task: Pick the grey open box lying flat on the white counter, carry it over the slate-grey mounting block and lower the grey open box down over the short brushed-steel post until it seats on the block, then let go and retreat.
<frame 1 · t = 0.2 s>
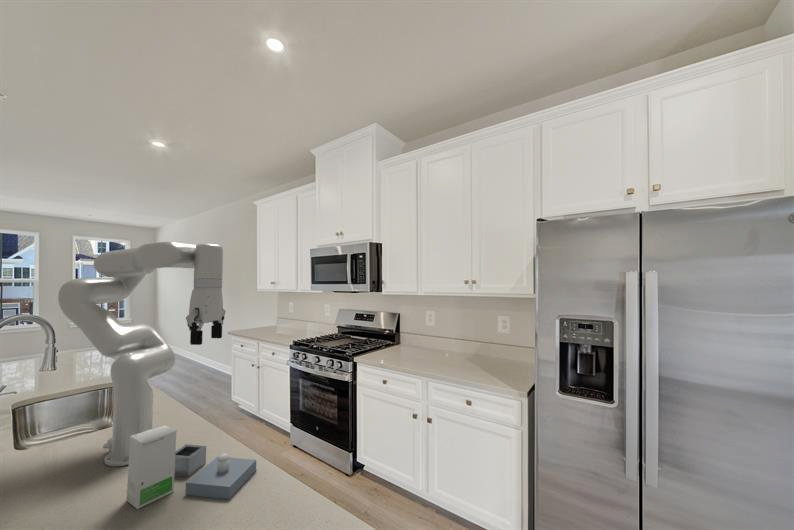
hand: (206, 341, 97), 36 cm above the counter, tool pointing down, fingers open, 9 cm apart
grey open box: (187, 468, 93), on the counter
shaft block: (222, 481, 87), on the counter
skincare box: (150, 496, 81), on the counter
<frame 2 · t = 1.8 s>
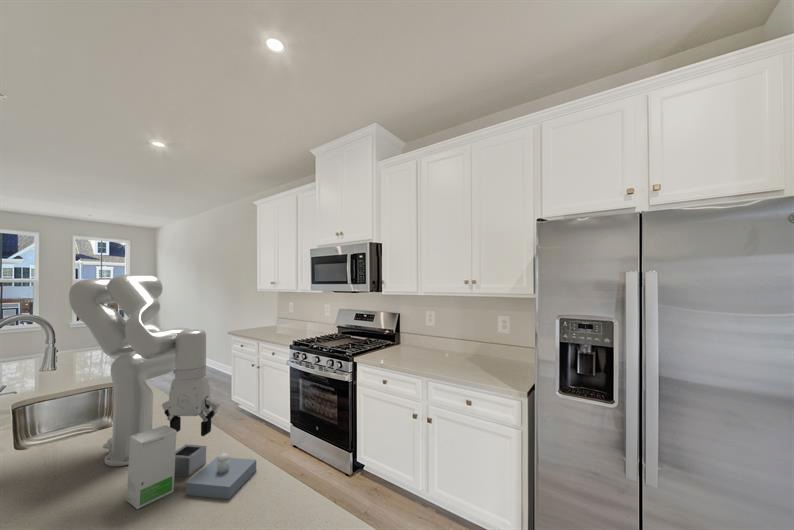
hand: (190, 433, 93), 10 cm above the counter, tool pointing down, fingers open, 9 cm apart
nothing on the counter moved.
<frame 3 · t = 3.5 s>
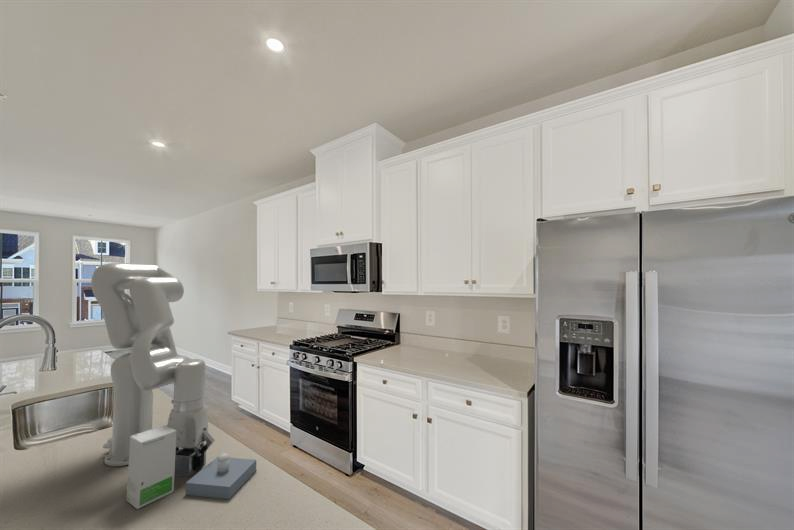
hand: (187, 466, 93), 1 cm above the counter, tool pointing down, fingers closed on grey open box, 6 cm apart
grey open box: (187, 468, 93), on the counter, touching gripper
everything else where it was.
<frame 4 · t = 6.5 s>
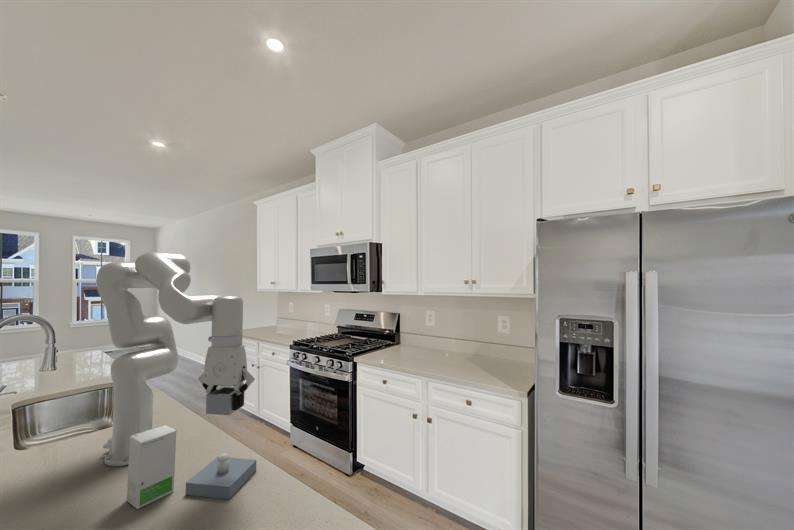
hand: (225, 407, 88), 20 cm above the counter, tool pointing down, fingers closed on grey open box, 6 cm apart
grey open box: (225, 409, 87), point 19 cm above the counter, touching gripper
everything else where it was.
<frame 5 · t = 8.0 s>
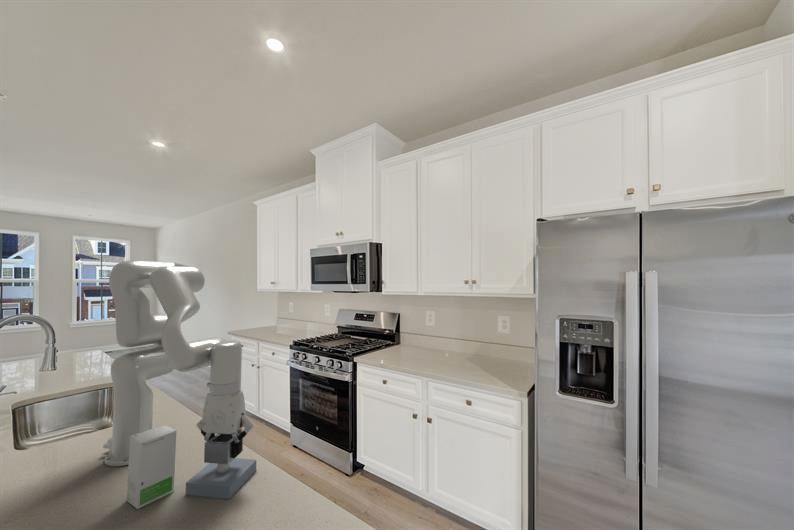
hand: (224, 453, 87), 7 cm above the counter, tool pointing down, fingers closed on grey open box, 6 cm apart
grey open box: (224, 456, 87), point 7 cm above the counter, touching gripper
everything else where it was.
when the fingers open (5 cm above the counter, at t = 9.4 s): grey open box drops 1 cm, resting on shaft block.
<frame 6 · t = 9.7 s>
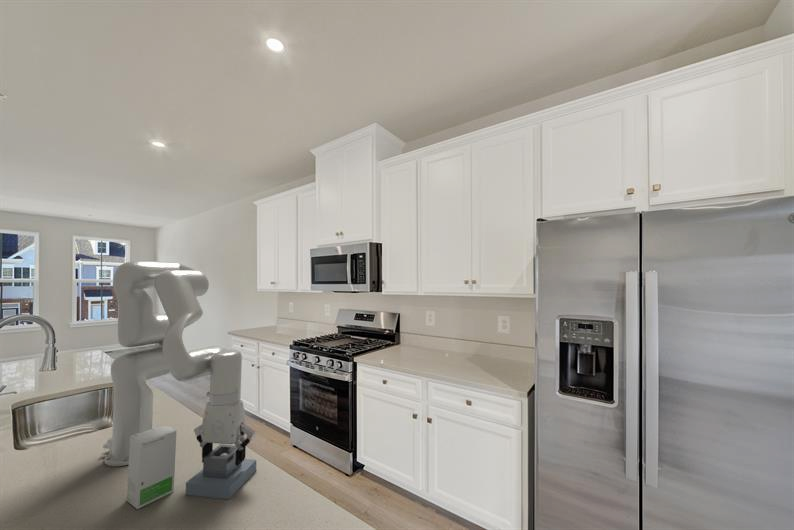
hand: (223, 461, 87), 5 cm above the counter, tool pointing down, fingers open, 9 cm apart
grey open box: (222, 470, 87), point 3 cm above the counter, touching shaft block
everything else where it was.
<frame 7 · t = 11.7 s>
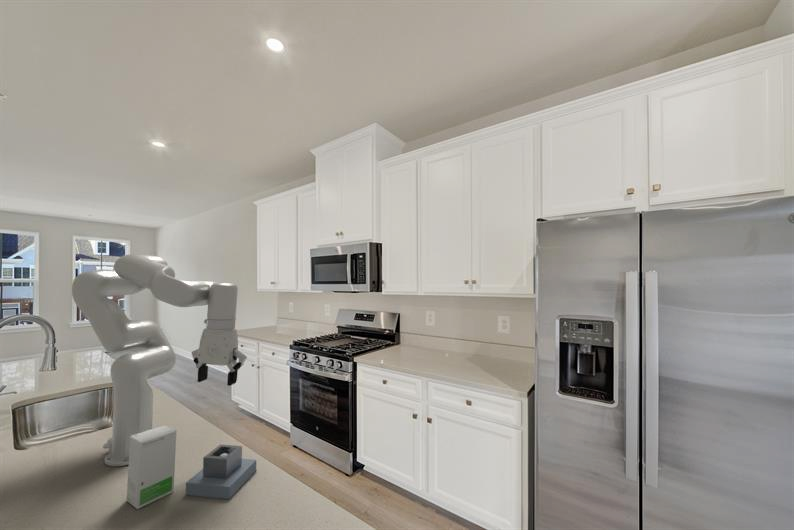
hand: (216, 382, 95), 24 cm above the counter, tool pointing down, fingers open, 9 cm apart
nothing on the counter moved.
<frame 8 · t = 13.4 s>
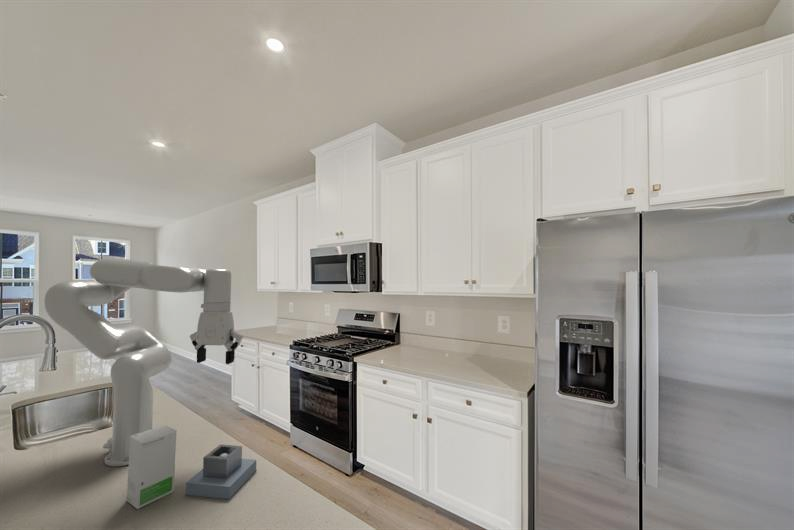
hand: (215, 362, 101), 28 cm above the counter, tool pointing down, fingers open, 9 cm apart
nothing on the counter moved.
at the end: grey open box 0.1 cm off-centre on the shaft block, point 3.0 cm above the shaft block's base; grey open box tilted 0°; the gripper is holding nothing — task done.
